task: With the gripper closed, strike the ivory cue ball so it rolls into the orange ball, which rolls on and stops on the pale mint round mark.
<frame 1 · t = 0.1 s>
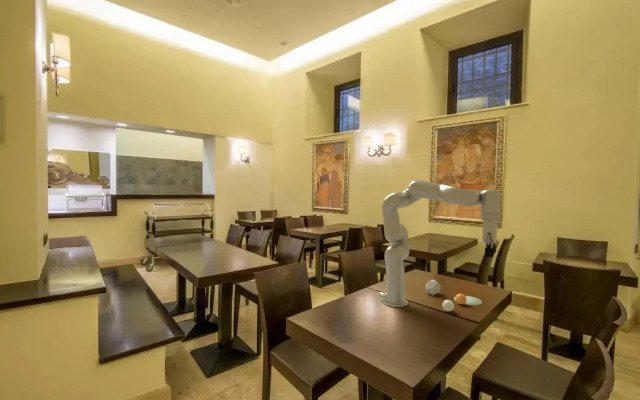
hand: (490, 254, 136), 31 cm above the table, tool pointing down, fingers open, 9 cm apart
cue ball: (448, 305, 151), on the table
die: (433, 294, 177), on the table
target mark: (467, 300, 165), on the table
object ball: (461, 298, 160), on the table
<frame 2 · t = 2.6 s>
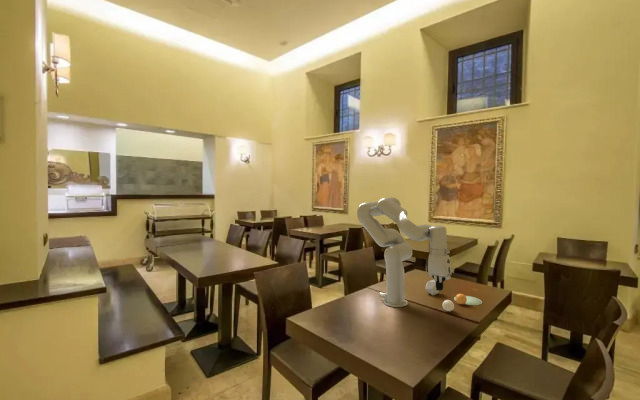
hand: (439, 289, 144), 13 cm above the table, tool pointing down, fingers closed
nothing on the table moved.
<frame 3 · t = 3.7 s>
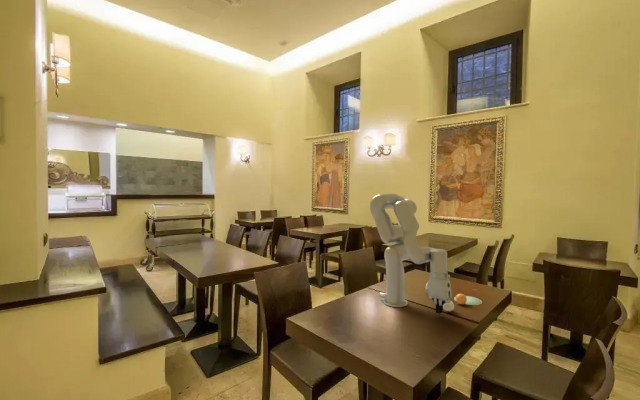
hand: (439, 312, 145), 2 cm above the table, tool pointing down, fingers closed
nothing on the table moved.
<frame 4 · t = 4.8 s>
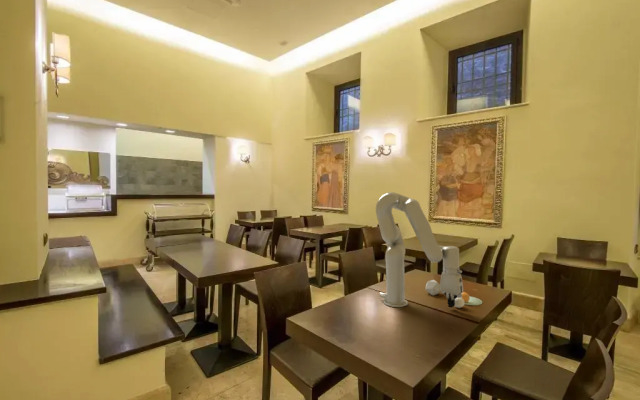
hand: (451, 306, 153), 2 cm above the table, tool pointing down, fingers closed
cue ball: (458, 302, 156), on the table
object ball: (463, 297, 162), on the table
everything else where it was.
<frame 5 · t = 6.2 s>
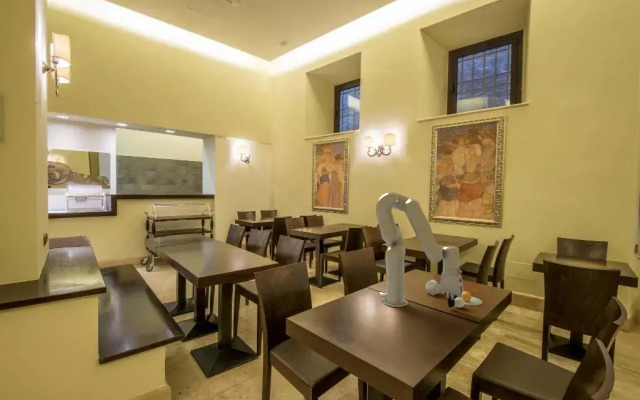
hand: (451, 306, 153), 2 cm above the table, tool pointing down, fingers closed
object ball: (465, 296, 164), on the table
everything else where it was.
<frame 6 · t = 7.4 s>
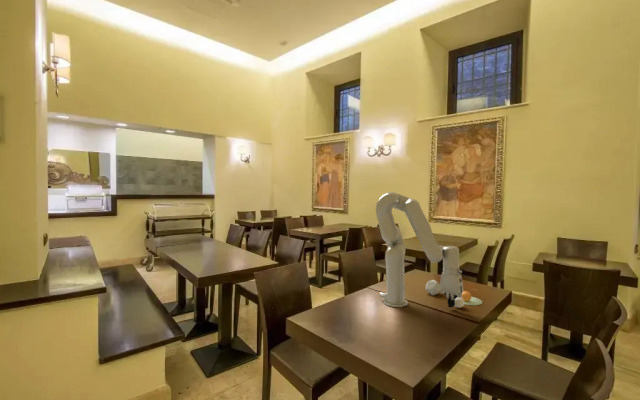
hand: (451, 306, 153), 2 cm above the table, tool pointing down, fingers closed
nothing on the table moved.
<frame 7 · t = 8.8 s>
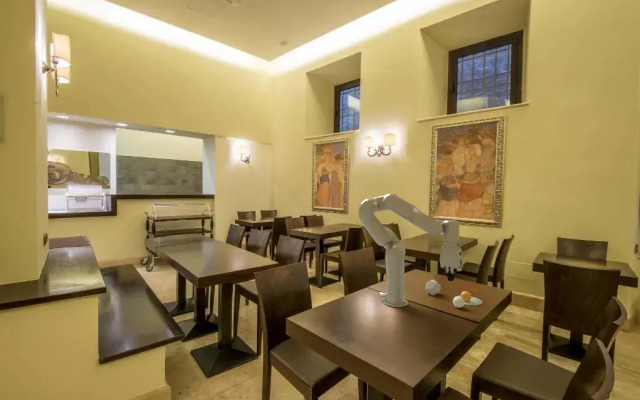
hand: (450, 280, 153), 15 cm above the table, tool pointing down, fingers closed
nothing on the table moved.
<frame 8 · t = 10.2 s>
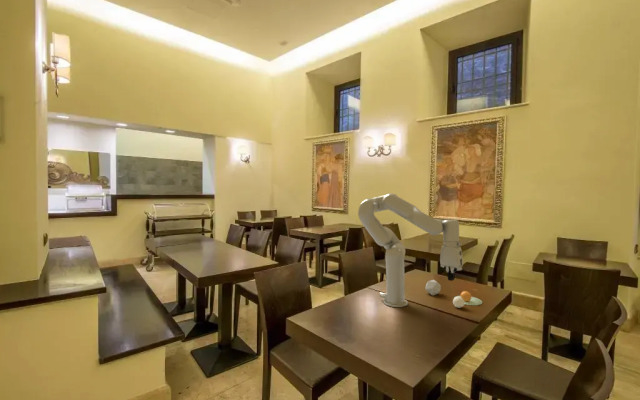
hand: (451, 280, 153), 15 cm above the table, tool pointing down, fingers closed
nothing on the table moved.
at the end: object ball 2.1 cm from the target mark (horizontally); object ball never touched the robot; cue ball first touched object ball at 4.4 s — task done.
